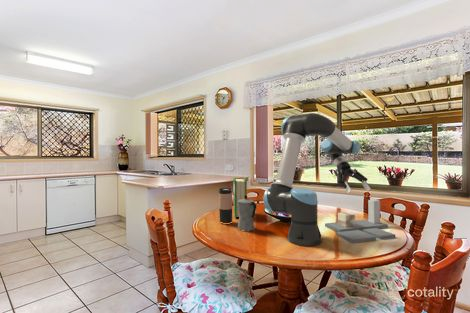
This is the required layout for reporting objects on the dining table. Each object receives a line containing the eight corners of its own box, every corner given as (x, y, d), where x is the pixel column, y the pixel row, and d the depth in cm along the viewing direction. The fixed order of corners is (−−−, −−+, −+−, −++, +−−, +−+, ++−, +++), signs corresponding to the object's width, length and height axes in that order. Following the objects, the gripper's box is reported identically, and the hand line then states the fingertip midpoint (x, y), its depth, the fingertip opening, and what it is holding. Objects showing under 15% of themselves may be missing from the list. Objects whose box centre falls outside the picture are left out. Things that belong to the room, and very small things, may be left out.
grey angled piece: (339, 232, 124) (339, 205, 124) (324, 226, 136) (324, 201, 136) (388, 227, 132) (387, 201, 132) (370, 221, 144) (370, 198, 143)
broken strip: (352, 243, 110) (352, 239, 110) (335, 235, 121) (335, 232, 121) (395, 237, 116) (395, 234, 116) (376, 230, 127) (376, 227, 127)
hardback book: (247, 218, 155) (246, 180, 155) (235, 218, 155) (234, 180, 155) (244, 212, 173) (244, 177, 173) (233, 212, 173) (233, 177, 172)
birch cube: (345, 227, 129) (345, 215, 129) (338, 223, 134) (337, 212, 134) (355, 226, 130) (355, 214, 130) (347, 223, 136) (347, 212, 136)
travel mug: (220, 221, 150) (219, 188, 150) (232, 221, 150) (232, 187, 150) (218, 224, 142) (218, 189, 142) (232, 224, 142) (231, 189, 142)
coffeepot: (232, 227, 137) (231, 194, 136) (246, 224, 142) (245, 193, 142) (248, 234, 124) (248, 198, 124) (263, 231, 129) (262, 196, 129)
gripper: (355, 168, 167) (373, 193, 153) (323, 169, 161) (338, 196, 147) (361, 160, 162) (380, 186, 148) (328, 161, 156) (344, 188, 141)
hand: (359, 191), depth 147 cm, fingers open, 13 cm apart
